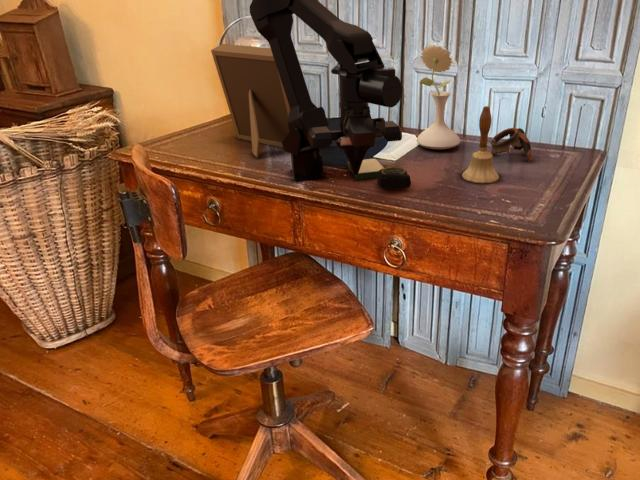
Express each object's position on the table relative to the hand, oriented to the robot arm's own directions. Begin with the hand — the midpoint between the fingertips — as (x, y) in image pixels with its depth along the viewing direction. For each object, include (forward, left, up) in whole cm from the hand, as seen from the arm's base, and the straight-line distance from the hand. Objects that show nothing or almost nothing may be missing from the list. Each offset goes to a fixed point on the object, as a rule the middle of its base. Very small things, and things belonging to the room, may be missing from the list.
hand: (355, 174), depth 121 cm
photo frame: (-16, +39, -4) cm, 42 cm away
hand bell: (+30, +1, -4) cm, 30 cm away
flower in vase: (+29, +26, -4) cm, 39 cm away
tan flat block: (+6, +12, -4) cm, 14 cm away
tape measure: (+9, 0, -4) cm, 10 cm away
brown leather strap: (+44, +12, -4) cm, 46 cm away
